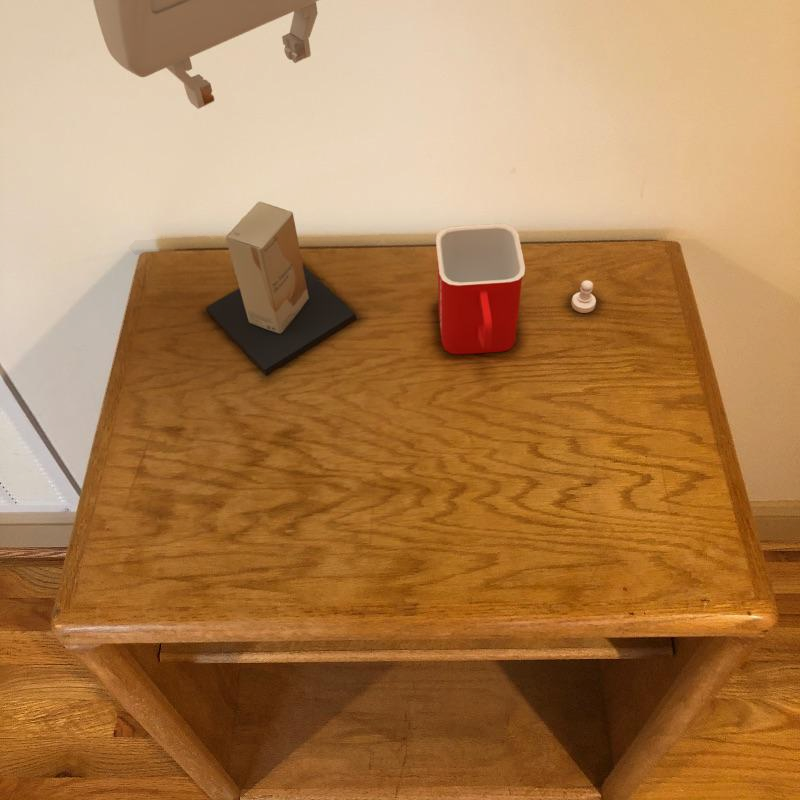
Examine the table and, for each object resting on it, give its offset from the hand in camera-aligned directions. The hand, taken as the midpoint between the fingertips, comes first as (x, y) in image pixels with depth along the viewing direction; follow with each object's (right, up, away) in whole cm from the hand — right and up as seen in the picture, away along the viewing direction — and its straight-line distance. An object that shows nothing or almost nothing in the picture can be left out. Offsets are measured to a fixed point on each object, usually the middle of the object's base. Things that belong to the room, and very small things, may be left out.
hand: (251, 79), depth 64 cm
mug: (+21, -20, +20) cm, 35 cm away
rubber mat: (-1, -17, +23) cm, 29 cm away
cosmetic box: (-1, -16, +22) cm, 28 cm away
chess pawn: (+32, -16, +22) cm, 42 cm away
